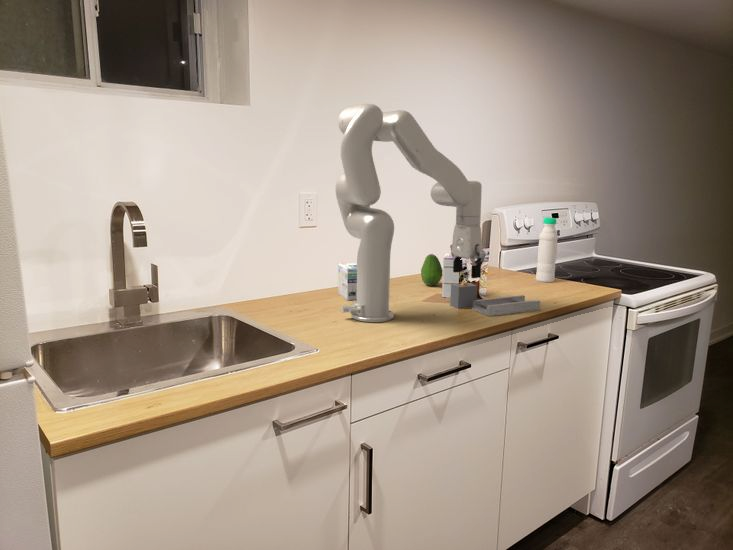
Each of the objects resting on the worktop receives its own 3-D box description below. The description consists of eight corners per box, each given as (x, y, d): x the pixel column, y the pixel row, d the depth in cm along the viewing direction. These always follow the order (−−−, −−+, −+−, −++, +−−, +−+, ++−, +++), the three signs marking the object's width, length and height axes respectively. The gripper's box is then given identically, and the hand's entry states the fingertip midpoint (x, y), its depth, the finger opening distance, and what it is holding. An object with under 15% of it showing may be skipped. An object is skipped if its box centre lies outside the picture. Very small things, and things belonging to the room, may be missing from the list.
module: (458, 308, 176) (459, 284, 174) (450, 305, 180) (451, 281, 178) (476, 306, 179) (477, 283, 177) (467, 303, 183) (469, 280, 181)
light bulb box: (366, 299, 186) (366, 267, 183) (346, 301, 183) (347, 268, 181) (355, 292, 195) (356, 262, 193) (337, 293, 193) (337, 263, 191)
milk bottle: (556, 282, 218) (562, 218, 214) (538, 282, 218) (543, 218, 214) (551, 279, 225) (556, 217, 220) (533, 278, 225) (538, 216, 221)
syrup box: (458, 298, 189) (461, 256, 186) (441, 297, 190) (443, 255, 188) (459, 294, 195) (461, 253, 192) (442, 293, 196) (444, 253, 193)
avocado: (417, 286, 207) (419, 254, 204) (424, 282, 214) (425, 251, 212) (438, 288, 204) (440, 256, 201) (444, 284, 211) (445, 253, 209)
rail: (489, 316, 167) (490, 306, 167) (471, 309, 175) (472, 300, 175) (540, 310, 176) (541, 300, 176) (521, 303, 184) (521, 294, 183)
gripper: (442, 219, 180) (441, 271, 184) (475, 224, 165) (473, 281, 169) (461, 217, 183) (460, 269, 187) (495, 223, 168) (493, 278, 172)
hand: (466, 274), depth 178 cm, fingers open, 9 cm apart
